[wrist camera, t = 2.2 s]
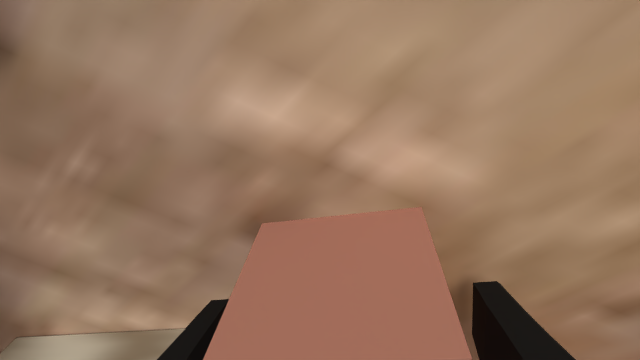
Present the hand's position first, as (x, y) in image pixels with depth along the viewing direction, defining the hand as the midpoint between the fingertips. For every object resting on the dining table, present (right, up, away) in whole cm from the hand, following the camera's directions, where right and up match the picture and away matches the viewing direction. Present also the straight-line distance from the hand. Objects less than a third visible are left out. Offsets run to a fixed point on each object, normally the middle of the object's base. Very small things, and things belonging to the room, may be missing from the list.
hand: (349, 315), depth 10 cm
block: (0, +1, +2) cm, 2 cm away
